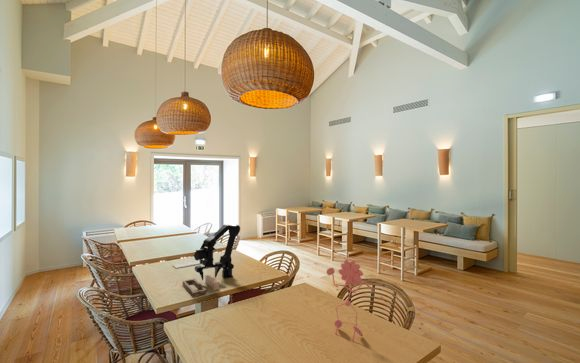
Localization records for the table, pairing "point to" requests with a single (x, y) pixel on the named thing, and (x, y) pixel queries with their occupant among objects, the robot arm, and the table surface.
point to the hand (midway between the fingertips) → (209, 278)
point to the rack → (192, 292)
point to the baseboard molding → (187, 264)
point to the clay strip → (212, 282)
